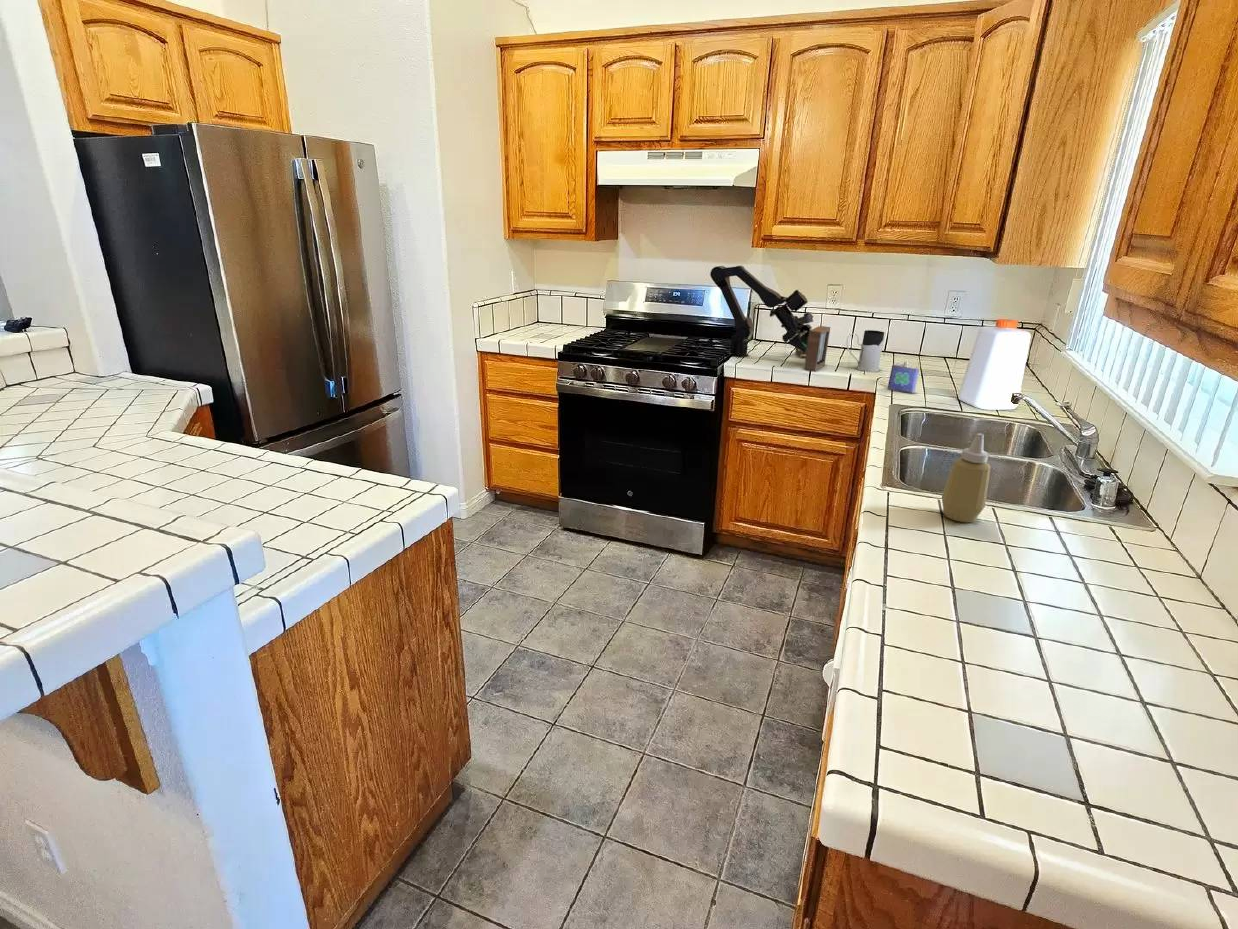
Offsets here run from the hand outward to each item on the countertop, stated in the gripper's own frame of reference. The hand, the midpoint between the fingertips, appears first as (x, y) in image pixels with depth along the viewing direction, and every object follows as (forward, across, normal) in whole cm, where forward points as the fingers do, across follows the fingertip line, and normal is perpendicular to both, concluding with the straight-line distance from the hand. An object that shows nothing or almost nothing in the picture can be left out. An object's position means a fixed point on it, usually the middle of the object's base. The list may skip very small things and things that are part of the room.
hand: (809, 349), depth 262 cm
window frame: (+7, -1, +2) cm, 7 cm away
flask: (+33, -17, -24) cm, 44 cm away
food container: (0, +18, +10) cm, 20 cm away
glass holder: (+18, +10, -9) cm, 22 cm away
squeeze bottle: (+57, -119, -48) cm, 141 cm away
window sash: (+3, +1, +2) cm, 4 cm away
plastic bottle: (+52, -15, -43) cm, 69 cm away
